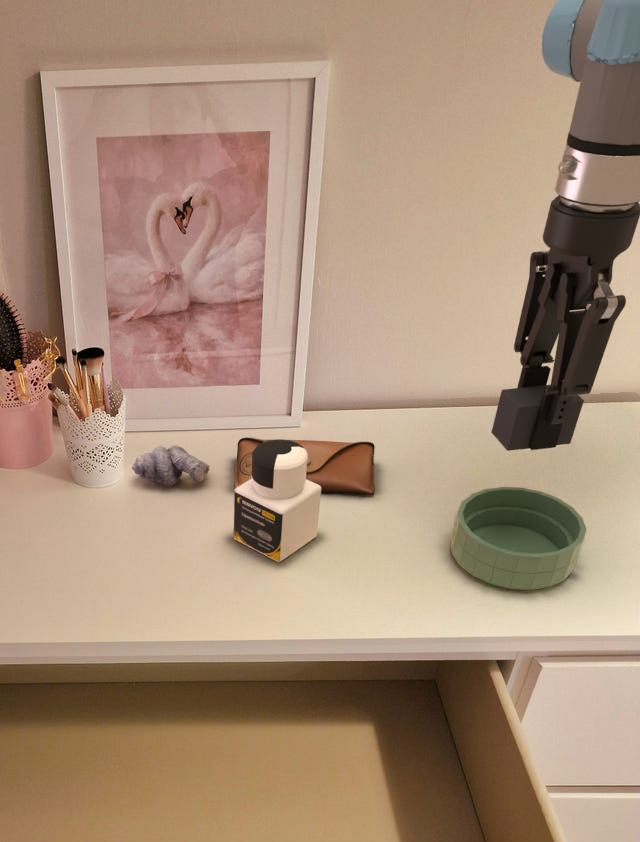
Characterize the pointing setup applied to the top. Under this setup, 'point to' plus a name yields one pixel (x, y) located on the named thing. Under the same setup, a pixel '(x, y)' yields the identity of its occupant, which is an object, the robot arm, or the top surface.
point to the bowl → (517, 537)
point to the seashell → (169, 466)
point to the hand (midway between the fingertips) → (531, 435)
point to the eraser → (528, 417)
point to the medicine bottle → (277, 501)
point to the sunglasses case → (322, 464)
